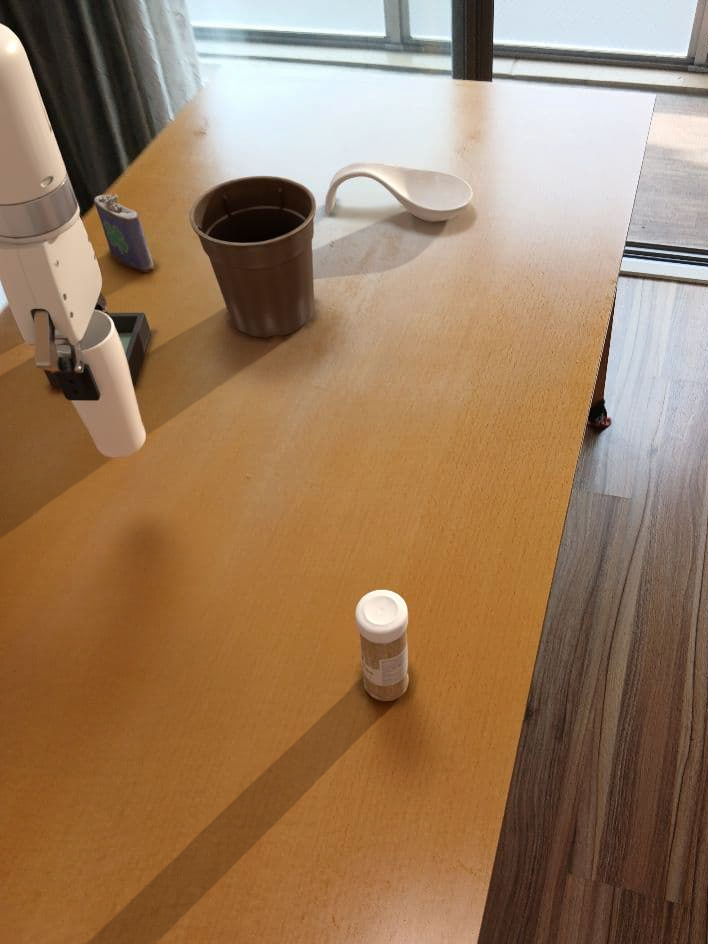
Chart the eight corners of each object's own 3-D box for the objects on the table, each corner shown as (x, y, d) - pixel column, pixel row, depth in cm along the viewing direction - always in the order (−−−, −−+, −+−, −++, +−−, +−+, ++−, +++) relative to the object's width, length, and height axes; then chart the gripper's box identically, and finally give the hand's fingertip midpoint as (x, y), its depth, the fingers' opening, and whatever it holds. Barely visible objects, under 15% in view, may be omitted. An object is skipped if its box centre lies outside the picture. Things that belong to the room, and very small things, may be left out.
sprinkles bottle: (357, 671, 82) (347, 597, 71) (399, 655, 83) (395, 580, 72) (373, 710, 79) (366, 639, 68) (416, 693, 80) (416, 621, 69)
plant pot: (192, 330, 115) (162, 225, 102) (252, 268, 123) (233, 164, 111) (291, 361, 110) (274, 256, 97) (347, 294, 119) (338, 190, 106)
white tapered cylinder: (150, 464, 86) (109, 352, 74) (85, 467, 85) (33, 356, 73) (157, 418, 90) (119, 305, 78) (94, 421, 89) (46, 309, 77)
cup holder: (51, 387, 108) (41, 366, 105) (73, 333, 115) (64, 313, 112) (134, 386, 108) (127, 366, 105) (151, 332, 115) (144, 312, 112)
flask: (158, 267, 124) (138, 201, 115) (142, 276, 123) (121, 210, 114) (120, 245, 128) (98, 180, 119) (105, 254, 126) (81, 188, 118)
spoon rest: (473, 194, 135) (475, 151, 129) (470, 234, 128) (472, 190, 122) (332, 189, 137) (328, 147, 131) (321, 229, 130) (317, 186, 124)
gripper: (11, 145, 70) (77, 314, 85) (-59, 265, 60) (30, 435, 74) (98, 146, 70) (149, 315, 85) (42, 266, 60) (112, 436, 74)
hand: (93, 370), depth 79 cm, fingers closed on white tapered cylinder, 6 cm apart
